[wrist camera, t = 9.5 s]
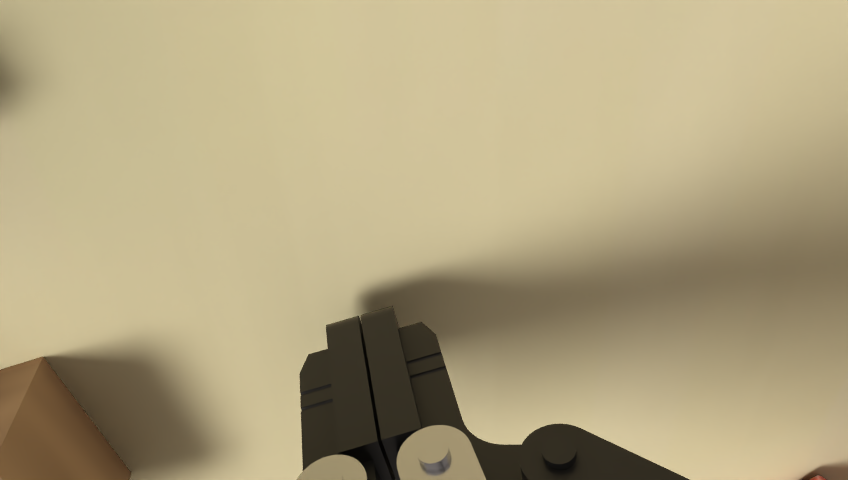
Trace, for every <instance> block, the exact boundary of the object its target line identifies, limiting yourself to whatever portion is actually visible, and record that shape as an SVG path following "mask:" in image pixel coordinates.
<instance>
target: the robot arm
mask: <svg viewBox="0 0 848 480" xmlns="http://www.w3.org/2000/svg"><path fill="white" fill-rule="evenodd" d="M361 321H362V323H361ZM326 333H327V344H328V349H326V350H322V351H319V352H315V353H312V354H309V355H308V357H307V359H306V361H305V363H304V365H303V368H302V370H301V372H300V393H301V410H302V412H301V425H302V454H303V472H302V473H301V474H300V475H299V477H298V478H297V480H689V479H687V478H685V477H683V476H681V475H679V474H677V473H674V472H672V471H670V470H668V469H666V468H664V467H662V466H660V465H657V464H655V463H653V462H651V461H649V460H647V459H645V458H643V457H640V456H638V455H636V454H634V453H632V452H630V451H628V450H626V449H623V448H621V447H619V446H617V445H615V444H613V443H611V442H608V441H606V440H604V439H602V438H600V437H598V436H596V435H594V434H591V433H589V432H587V431H585V430H583V429H581V428H578V427H576V426H572V425H568V424H552V425H547V426H544V427H541V428H539V429H537V430H535V431H534V432H532V433H531V434H530V435H529V436H528V437H527V438H526V439H525V440H524V442H523V443H522V445H499V444H492V443H488V442H485V441H483V440H481V439H479V438H477V437H475V436H474V435H473V434H472V433H471V432H470V431H469V430H468V429H467V428H466V426H465V425H464V422H463V420H462V417H461V414H460V411H459V408H458V404H457V401H456V398H455V395H454V392H453V388H452V385H451V382H450V379H449V376H448V373H447V369H446V366H445V363H444V360H443V357H442V354H441V350H440V347H439V344H438V341H437V338H436V334H434V333H433V332H432V331H431V330H430V329H429V328H428V327H427V326H425V325H424V324H423V323H422V322H420V323H416V324H413V325H409V326H406V327H402V328H399V326H398V322H397V319H396V316H395V312H394V309H393V306H391V307H388V308H384V309H380V310H377V311H373V312H370V313H366V314H363V315H361V320H360V318H359V316H356V317H353V318H349V319H346V320H342V321H339V322H335V323H332V324H328V325H326Z"/></svg>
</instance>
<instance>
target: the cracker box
mask: <svg viewBox="0 0 848 480" xmlns="http://www.w3.org/2000/svg"><path fill="white" fill-rule="evenodd" d="M810 480H826V479H825V478H823V477H822V476H820V475H817V476H815V477H813V478H811V479H810Z"/></svg>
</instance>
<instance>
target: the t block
mask: <svg viewBox="0 0 848 480" xmlns="http://www.w3.org/2000/svg"><path fill="white" fill-rule="evenodd" d="M130 475H131V472H130V471H129V469H128V468H127V467H126V465H125V464H124V463H123V461H122V460H121V459H120V457H119V456H118V455H117V454H116V452H115V451H114V450H113V448H112V447H111V446H110V444H109V443H108V442H107V440H106V439H105V438H104V436H103V435H102V434H101V432H100V431H99V430H98V428H97V427H96V426H95V425H94V423H93V422H92V421H91V419H90V418H89V417H88V415H87V414H86V413H85V411H84V410H83V409H82V407H81V406H80V405H79V403H78V402H77V401H76V399H75V398H74V397H73V395H72V394H71V393H70V392H69V390H68V389H67V388H66V386H65V385H64V384H63V382H62V381H61V380H60V378H59V377H58V376H57V374H56V373H55V372H54V370H53V369H52V368H51V366H50V365H49V364H48V363H47V361H46V360H45V359H44V357H40V358H37V359H34V360H30V361H27V362H24V363H21V364H17V365H14V366H11V367H8V368H4V369H1V370H0V480H129V479H130Z"/></svg>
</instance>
